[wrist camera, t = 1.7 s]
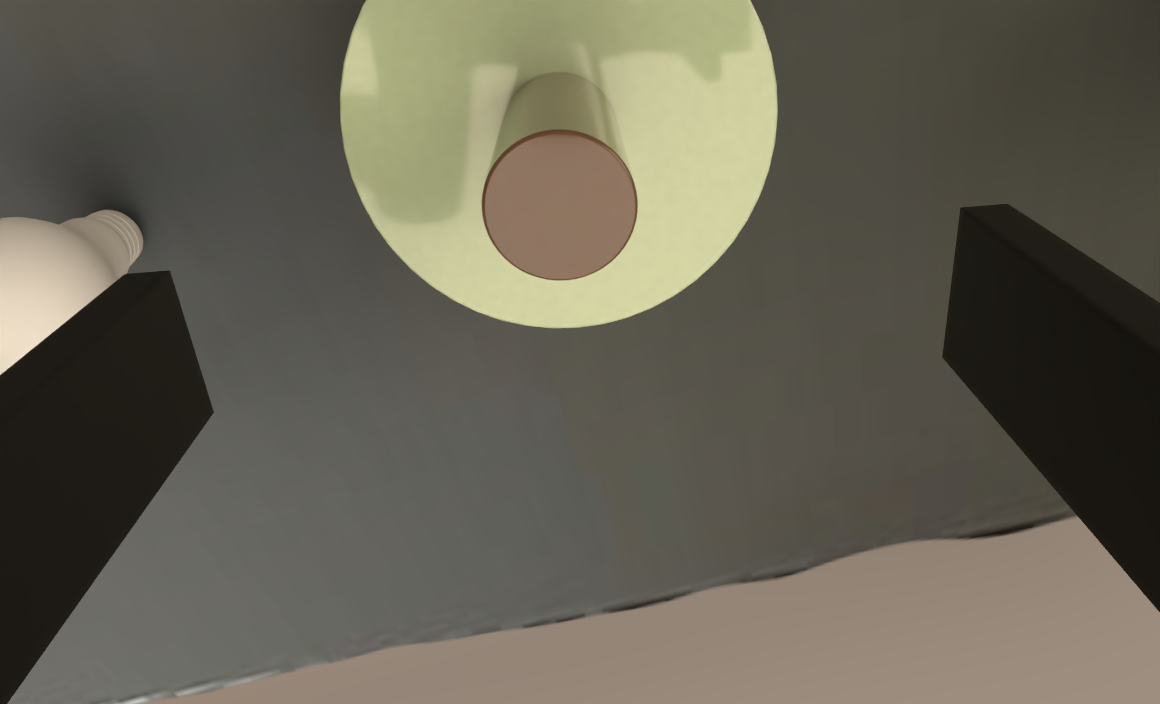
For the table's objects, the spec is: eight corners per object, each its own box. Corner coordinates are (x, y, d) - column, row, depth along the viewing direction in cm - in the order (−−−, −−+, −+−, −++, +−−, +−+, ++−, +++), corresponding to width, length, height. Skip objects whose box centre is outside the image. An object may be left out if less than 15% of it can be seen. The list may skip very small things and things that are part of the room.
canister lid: (388, 329, 31) (327, 476, 23) (305, -94, 25) (183, -98, 17) (766, 299, 31) (840, 436, 23) (774, -136, 25) (879, -160, 17)
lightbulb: (198, 183, 38) (71, 278, 28) (187, 308, 40) (67, 434, 31) (50, 147, 37) (-134, 230, 27) (49, 276, 40) (-119, 395, 30)
